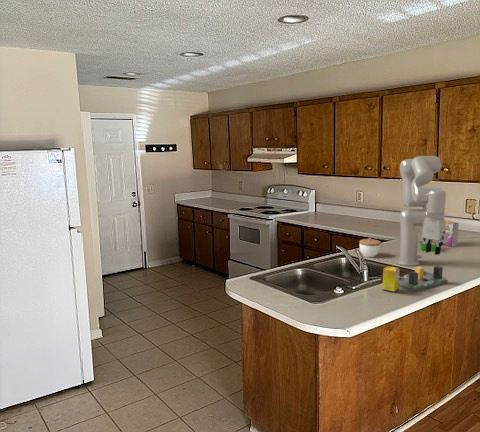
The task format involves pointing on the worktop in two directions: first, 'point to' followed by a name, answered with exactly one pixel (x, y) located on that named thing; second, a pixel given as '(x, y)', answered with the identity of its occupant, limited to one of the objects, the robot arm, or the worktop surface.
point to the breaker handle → (419, 272)
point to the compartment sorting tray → (429, 280)
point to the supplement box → (390, 279)
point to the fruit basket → (423, 246)
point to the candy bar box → (451, 233)
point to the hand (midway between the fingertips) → (432, 252)
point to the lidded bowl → (369, 247)
